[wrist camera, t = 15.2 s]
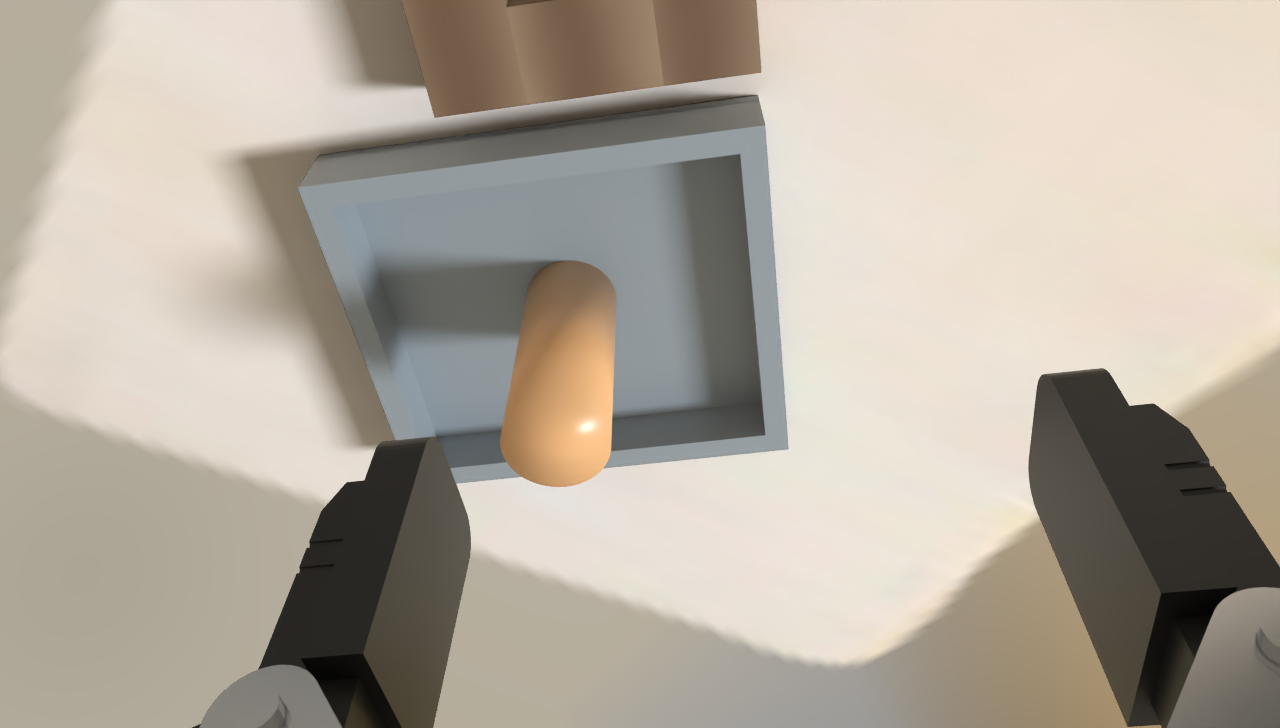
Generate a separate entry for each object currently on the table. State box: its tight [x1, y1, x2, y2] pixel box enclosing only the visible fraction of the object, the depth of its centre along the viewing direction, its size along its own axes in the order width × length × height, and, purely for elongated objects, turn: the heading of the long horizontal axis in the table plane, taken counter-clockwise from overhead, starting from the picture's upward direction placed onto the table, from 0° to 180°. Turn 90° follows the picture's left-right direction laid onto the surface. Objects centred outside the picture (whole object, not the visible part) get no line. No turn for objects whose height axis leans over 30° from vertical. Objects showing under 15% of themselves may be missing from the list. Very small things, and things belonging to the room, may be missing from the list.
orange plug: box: [500, 260, 617, 487], centre depth 39 cm, size 4×4×10 cm
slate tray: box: [298, 95, 788, 483], centre depth 42 cm, size 18×16×3 cm
